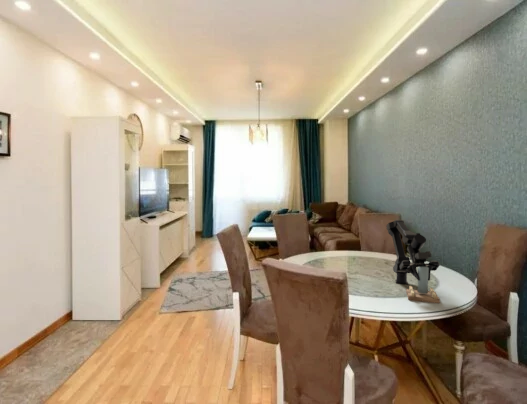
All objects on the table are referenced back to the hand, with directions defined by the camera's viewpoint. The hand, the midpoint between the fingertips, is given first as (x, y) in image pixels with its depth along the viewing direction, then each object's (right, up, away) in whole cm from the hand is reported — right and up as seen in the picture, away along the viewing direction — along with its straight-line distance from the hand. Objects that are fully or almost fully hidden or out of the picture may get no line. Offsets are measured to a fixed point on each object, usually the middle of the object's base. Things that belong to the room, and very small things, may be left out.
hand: (424, 280), depth 164 cm
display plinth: (0, -10, +3) cm, 10 cm away
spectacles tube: (0, -6, +2) cm, 7 cm away
